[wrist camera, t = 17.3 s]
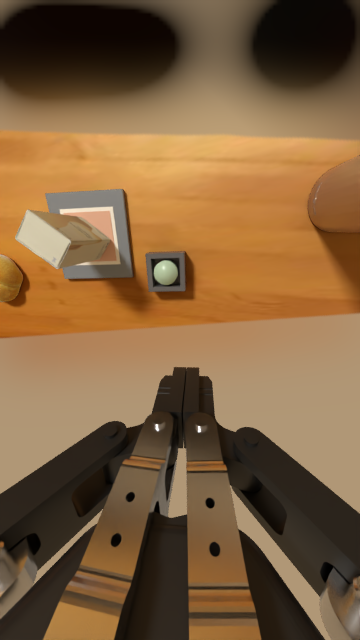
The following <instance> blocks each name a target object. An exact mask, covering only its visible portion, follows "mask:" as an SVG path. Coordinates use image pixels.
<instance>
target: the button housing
mask: <svg viewBox="0 0 360 640" xmlns="http://www.w3.org/2000/svg"><path fill="white" fill-rule="evenodd" d="M163 260H171V261H173V262H174V263H175V264H176V265H177V267H178V276H177V278H176V280H175V281H174V282H173V283H172V284H169V285H163V284H160V283H159V282H158V281H157V280H156V279H155V276H154V269H155V266H156V265H157V264H158V263H159V262H161V261H163ZM146 265H147V276H148V287H149V292H156V291H185V290H186V262H185V251H176V252H149V253H146Z"/></svg>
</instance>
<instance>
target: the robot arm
mask: <svg viewBox="0 0 360 640" xmlns="http://www.w3.org/2000/svg"><path fill="white" fill-rule="evenodd" d="M308 212H309V216H310V219H311V221H312V222H313V224H314V225H315V226H316V227H318V228H319V229H321V230H323V231H327V232H360V155H359V156H357V157H355V158H353V159H350V160H348V161H346V162H344V163H342V164H340V165H338V166H336V167H334V168H332V169H330V170H329V171H327V172H326V173H325V174H323V175H322V177H321V178H320V179H319V180H318V181H317V182H316V184H315V185H314V187H313V189H312V191H311V193H310V197H309V201H308ZM212 389H213V388H212V381H211V380H210V379H209V377H208V376H199V368H189V367H188V368H187V369H186V367H174V371H173V376H164V378H163V379H162V380H161V381H160V385H159V389H158V393H157V396H156V400H155V403H154V407H153V411H152V414H150V415H149V416H148V417H147V418H146V420H145V422H144V423H143V424H141V425H138V426H134V427H130V428H126V426H125V424H124V423H122V422H119V421H112V422H108V423H106V424H104V425H103V426H101V427H100V428H98V429H97V430H95V431H94V432H92V433H91V434H89V435H88V436H86V437H85V438H83V439H82V440H80V441H79V442H77V443H76V444H74V445H73V446H72V447H70V448H68V449H67V450H65V451H64V452H62V453H61V454H60V455H58V456H57V457H55V458H54V459H52V460H50V461H49V462H48V463H46V464H44V465H43V466H42V467H40V468H39V469H37V470H36V471H34V472H33V473H31V474H30V475H28V476H27V477H25V478H24V479H22V480H21V481H19V482H18V483H16V484H15V485H13V486H12V487H10V488H9V489H7V490H6V491H4V492H3V493H1V494H0V640H325V639H324V637H323V636H322V635H321V633H320V632H319V630H318V629H317V628H316V626H315V625H314V623H313V622H312V621H311V619H310V618H309V617H308V615H307V614H306V612H305V611H304V609H303V608H302V607H301V605H300V604H299V602H298V601H297V600H296V598H295V597H294V595H293V594H292V592H291V591H290V590H289V588H288V587H287V585H286V584H285V583H284V582H283V580H282V578H281V577H280V576H279V574H278V573H277V571H276V570H275V569H274V567H273V566H272V564H271V563H270V562H269V560H268V559H267V557H266V556H265V554H264V553H263V552H262V551H261V549H260V548H259V547H258V546H257V545H256V543H255V542H254V541H253V540H252V539H250V537H248V536H247V535H246V534H245V533H243V532H242V531H241V530H239V529H238V526H237V521H236V516H235V510H234V504H233V499H232V494H231V489H230V485H231V486H232V489H233V491H234V492H235V494H236V495H237V496H238V497H239V498H240V500H241V501H242V502H243V503H244V505H245V506H246V507H247V508H248V510H249V511H250V512H251V513H252V514H253V516H254V517H255V518H256V519H257V521H258V522H259V523H260V524H261V525H262V527H263V528H264V529H265V530H266V531H267V533H268V534H269V535H270V536H271V538H272V539H273V540H274V541H275V543H277V545H278V546H279V547H280V549H281V550H282V551H283V552H284V553H285V555H286V556H287V557H288V558H289V560H290V561H291V562H292V563H293V565H294V566H295V567H296V568H297V570H298V571H299V572H300V573H301V574H302V576H303V577H304V578H305V579H306V581H307V582H308V583H309V584H310V585H311V587H312V588H313V589H314V590H315V592H316V593H317V594H318V595H319V596H320V604H319V605H320V612H321V617H322V620H323V623H324V626H325V628H326V630H327V632H328V634H329V636H330V638H331V640H360V514H359V513H358V512H357V511H356V510H354V509H353V508H352V507H351V506H350V505H348V504H347V503H346V502H345V501H343V500H342V499H341V498H340V497H339V496H338V495H336V494H335V493H334V492H333V491H332V490H330V489H329V488H328V487H327V486H325V485H324V484H323V483H322V482H320V481H319V480H318V479H317V478H316V477H315V476H313V475H312V474H311V473H310V472H309V471H307V470H306V469H305V468H304V467H302V466H301V465H300V464H299V463H298V462H297V461H295V460H294V459H293V458H292V457H290V456H289V455H288V454H287V453H286V452H284V451H283V450H282V449H281V448H280V447H278V446H277V445H276V444H275V443H274V442H272V441H271V440H270V439H269V438H268V437H266V436H265V435H264V434H263V433H261V432H260V431H259V430H257V429H254V428H250V427H244V428H240V429H238V430H237V431H236V432H233V431H230V430H228V429H225V428H223V427H222V426H221V425H219V424H218V422H217V421H216V419H215V414H214V401H213V390H212ZM183 442H184V448H186V456H187V467H186V469H187V515H183V516H178V517H174V518H169V517H168V510H169V502H170V497H171V491H172V486H173V481H174V475H175V470H176V460H177V455H178V448H183ZM102 509H103V511H102V513H101V516H100V518H99V520H98V523H97V524H96V525H94V526H93V527H91V528H90V529H89V530H88V531H87V532H85V533H84V534H83V536H81V537H80V538H79V539H78V540H77V541H76V542H75V543H74V544H73V546H72V547H71V548H70V549H69V550H68V551H67V552H66V553H65V554H64V555H63V556H62V557H61V558H60V559H59V560H58V561H57V562H56V563H55V564H54V565H53V566H52V567H51V568H50V569H49V570H48V571H47V572H46V573H45V574H44V575H43V576H42V577H41V578H40V579H39V580H38V581H37V582H36V583H35V584H34V585H33V583H34V581H35V578H36V574H37V571H38V570H39V569H40V568H41V567H42V566H43V565H44V564H45V563H46V562H47V561H48V560H49V559H51V557H52V556H54V555H55V554H56V553H57V552H58V551H59V550H60V549H61V548H62V547H63V546H64V545H65V544H66V543H67V542H68V541H69V540H70V539H71V538H73V537H74V536H75V535H76V534H77V533H78V532H79V531H80V530H81V529H82V528H83V527H84V526H85V525H86V524H87V523H88V522H90V521H91V520H92V519H93V518H94V517H95V516H96V515H97V514H98V513H99V512H100V511H101V510H102Z"/></svg>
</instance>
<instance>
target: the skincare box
mask: <svg viewBox="0 0 360 640" xmlns="http://www.w3.org/2000/svg"><path fill="white" fill-rule="evenodd" d="M15 238H16V240H17V241H19V242H20V243H21V244H23V245H24V246H26V247H27V248H28V249H30V250H31V251H32V252H34V253H35V254H36V255H38V256H39V257H41V258H42V259H44V260H45V261H47V262H48V263H50V264H51V265H52V266H54V267H55V268H56V269H60V268H64V267H68V266H73V265H77V264H81V263H86V262H90V261H94V260H99V259H100V258H101V256H102V255H103V253H104V252H105V250H106V248H107V246H108V244H109V243H110V239H109V238H108V237H107V236H106V235H105V234H103V233H102V232H101V231H100V230H98V229H97V228H96V227H94V226H93V225H92V224H90V223H89V222H88V221H86V220H85V219H83V218H82V217H78V216H70V215H63V214H56V213H48V212H41V211H34V210H27V211H26V214H25V216H24V218H23V220H22V223H21V225H20V227H19V230H18V232H17V234H16V237H15Z"/></svg>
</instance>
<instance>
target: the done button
mask: <svg viewBox="0 0 360 640" xmlns="http://www.w3.org/2000/svg"><path fill="white" fill-rule="evenodd" d="M154 276H155V279H156V280H157V281H158V282H159V283H160V284H163V285H169V284H172V283H173V282H174V281H175V280H176V278H177V276H178V267H177V265H176V264H175V263H174V262H173V261H171V260H163V261H161V262H159V263H158V264H157V265H156V266H155V269H154Z"/></svg>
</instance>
